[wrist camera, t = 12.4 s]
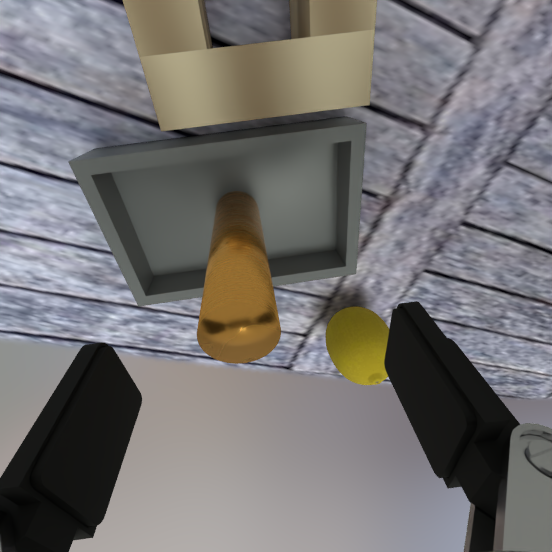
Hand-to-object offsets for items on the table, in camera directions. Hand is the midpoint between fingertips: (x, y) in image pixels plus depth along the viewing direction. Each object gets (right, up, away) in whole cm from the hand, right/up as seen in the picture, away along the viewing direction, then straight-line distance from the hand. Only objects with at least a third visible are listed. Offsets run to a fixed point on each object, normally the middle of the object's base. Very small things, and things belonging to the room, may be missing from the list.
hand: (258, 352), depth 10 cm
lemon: (+7, -1, +19) cm, 20 cm away
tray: (-2, +8, +11) cm, 14 cm away
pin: (-2, +7, +10) cm, 13 cm away
